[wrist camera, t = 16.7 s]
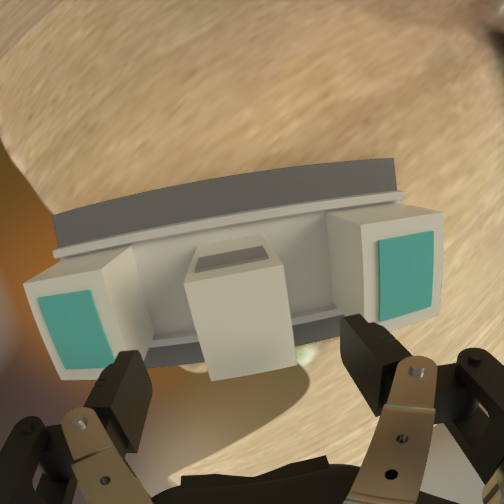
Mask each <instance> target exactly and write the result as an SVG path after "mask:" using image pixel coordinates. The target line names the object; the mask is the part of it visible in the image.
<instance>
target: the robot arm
mask: <svg viewBox="0 0 504 504" xmlns="http://www.w3.org/2000/svg"><path fill="white" fill-rule="evenodd" d="M340 353H341V358H342V361H343V364H344V366H345V367H346V369H347V371H348V372H349V374H350V376H351V377H352V379H353V380H354V382H355V384H356V385H357V387H358V389H359V390H360V392H361V393H362V395H363V397H364V398H365V400H366V402H367V403H368V405H369V407H370V408H371V410H372V411H373V413H374V415H375V416H376V417H377V416H380V418H379V421H378V424H377V427H376V430H375V432H374V435H373V438H372V440H371V443H370V446H369V448H368V451H367V453H366V456H365V458H364V461H363V463H362V465H361V467H358V466H353V465H346V464H329V463H328V460H327V457H326V455H325V456H321V457H317V458H313V459H309V460H304V461H300V462H295V463H290V464H288V465H285V466H283V467H280V468H278V469H275V470H273V471H270V472H267V473H265V474H262V475H259V476H256V477H243V476H231V475H221V474H208V475H190V476H181V485H180V486H176V487H173V488H170V489H167V490H165V491H163V492H161V493H159V494H157V495H155V496H154V497H151V495H150V494H149V493H148V492H147V490H146V489H145V487H144V486H143V485H142V483H141V482H140V481H139V479H138V478H137V477H136V475H135V474H134V472H133V471H132V469H131V468H130V466H129V465H128V463H127V462H126V460H125V459H124V458H125V455H126V453H137V452H138V448H139V444H140V440H141V436H142V431H143V428H144V424H145V420H146V416H147V412H148V408H149V405H150V401H151V397H152V383H151V380H150V377H149V375H148V372H147V369H146V367H145V364H144V361H143V359H142V356H141V354H140V352H139V351H138V350H127V351H120V352H119V353H118V355H117V357H116V359H115V361H114V363H112V364H109V365H108V366H107V367H106V368H105V369H104V370H103V371H102V372H101V374H100V376H99V378H98V381H96V383H95V387H93V389H92V391H91V393H90V395H89V397H88V399H87V401H86V403H85V405H84V407H82V408H77V409H74V410H72V411H70V412H69V413H68V414H66V415H65V417H64V418H63V420H62V423H61V424H59V425H53V426H47V427H46V426H45V425H44V423H43V422H42V420H41V419H40V418H38V417H35V416H29V417H26V418H23V419H21V420H20V421H19V422H18V423H17V424H16V425H15V426H14V428H13V430H12V431H11V433H10V435H9V437H8V438H7V440H6V442H5V444H4V446H3V448H2V450H1V451H0V504H72V501H73V497H74V493H75V490H76V486H77V482H78V483H79V485H80V488H81V490H82V492H83V494H84V496H85V498H86V500H87V503H88V504H458V503H456V502H452V501H449V500H446V499H443V498H439V497H436V496H433V495H431V494H427V493H425V492H422V491H420V487H421V483H422V479H423V475H424V471H425V466H426V462H427V457H428V453H429V448H430V442H431V437H432V431H433V425H434V424H439V423H444V424H445V426H446V427H447V429H448V430H449V431H450V433H451V434H452V436H453V437H454V439H455V440H456V442H457V443H458V445H459V446H460V448H461V449H462V451H463V452H464V454H465V455H466V457H467V458H468V459H469V461H470V463H471V464H472V466H473V467H474V469H475V470H476V472H477V473H478V474H479V476H480V478H481V479H482V481H483V483H484V484H485V487H484V488H483V491H482V501H483V503H484V504H504V366H503V365H502V364H501V363H500V362H499V361H498V360H497V359H496V358H494V357H493V356H492V355H491V354H490V353H489V352H487V351H486V350H483V349H480V348H467V349H465V350H463V351H461V352H460V353H459V355H458V358H457V362H456V363H453V364H447V365H440V366H437V365H436V363H435V362H434V361H433V360H431V359H429V358H427V357H424V356H412V355H411V354H410V353H409V352H408V351H407V349H406V348H405V347H404V346H403V345H402V344H401V343H400V342H399V341H398V340H396V339H395V337H394V336H393V335H392V334H390V332H389V331H388V330H387V329H386V328H385V327H384V326H382V325H379V324H377V323H375V322H371V323H368V322H367V321H366V320H365V318H364V317H363V316H362V315H361V314H359V313H358V314H354V315H349V316H345V317H341V319H340ZM479 402H480V404H481V405H482V406H483V407H484V408H485V409H486V411H487V412H488V414H489V417H488V416H487V415H486V414H485V413H484V411H483V410H482V409H481V408H480V407H479V406H478V405H479ZM37 466H38V467H39V468H40V469H41V471H42V472H43V473H42V476H41V478H40V481H39V484H38V487H37V489H36V491H35V490H34V488H33V485H32V479H33V476H34V474H35V471H36V469H37Z"/></svg>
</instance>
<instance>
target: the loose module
mask: <svg viewBox="0 0 504 504" xmlns="http://www.w3.org/2000/svg"><path fill="white" fill-rule="evenodd" d="M183 284H184V288H185V291H186V295H187V299H188V303H189V307H190V310H191V314H192V318H193V321H194V325H195V329H196V332H197V336H198V339H199V343H200V346H201V349H202V353H203V356H204V360H205V363H206V366H207V369H208V373H209V376H210V379H211V381H216V380H222V379H229V378H235V377H240V376H245V375H251V374H257V373H262V372H266V371H272V370H276V369H281V368H286V367H290V366H294V365H297V360H296V353H295V345H294V337H293V330H292V322H291V315H290V308H289V301H288V294H287V287H286V280H285V273H284V266H283V263H282V262H281V261H280V259H279V258H278V256H277V255H276V254H275V252H274V251H273V249H272V248H271V246H270V245H269V244H268V242H267V241H266V239H265V238H264V236H263V235H262V234H261V233H260V234H255V235H250V236H245V237H239V238H234V239H229V240H223V241H218V242H213V243H208V244H203V245H198V246H197V248H196V251H195V254H194V256H193V259H192V262H191V264H190V267H189V270H188V272H187V275H186V278H185V281H184V283H183Z"/></svg>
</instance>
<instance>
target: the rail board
mask: <svg viewBox="0 0 504 504" xmlns="http://www.w3.org/2000/svg"><path fill="white" fill-rule="evenodd" d="M401 199H405V195H404V191H397V186H396V176H395V167H394V159H393V158H384V159H369V160H356V161H344V162H334V163H324V164H314V165H305V166H297V167H288V168H281V169H273V170H266V171H259V172H252V173H245V174H239V175H233V176H226V177H220V178H215V179H209V180H203V181H198V182H192V183H187V184H182V185H177V186H172V187H167V188H162V189H157V190H152V191H148V192H143V193H139V194H134V195H130V196H125V197H121V198H117V199H113V200H109V201H105V202H101V203H97V204H93V205H89V206H85V207H81V208H77V209H74V210H70V211H66V212H63V213H59V214H56V215H52V219H53V224H54V228H55V233H56V237H57V241H58V246H59V248H58V249H56V250H54V251H52V252H53V256H54V258H59V260H60V262H58V263H56V264H55V265H53V266H51V267H50V268H48V269H46V270H45V271H43V272H41V273H39V274H38V275H36V276H35V277H33V278H31V279H30V280H28V281H26V282H25V283H23V286H24V289H25V292H26V295H27V299H28V301H29V304H30V307H31V310H32V313H33V316H34V318H35V321H36V324H37V326H38V329H39V331H40V334H41V336H42V339H43V341H44V344H45V346H46V348H47V351H48V353H49V355H50V357H51V359H52V362H53V364H54V366H55V368H56V370H57V372H58V374H59V376H60V378H61V380H98V378H99V376H100V374H101V372H102V371H103V370H104V369H105V368H106V367H107V366H108V365H109V364H112V363H114V361H115V359H116V357H117V355H118V353H119V352H120V351H127V350H138V351H139V352H140V354H141V356H142V359H143V361H144V364H145V367H146V368H154V367H165V366H175V365H183V364H192V363H199V362H205V360H204V356H203V353H202V349H201V346H200V343H199V339H198V336H197V332H196V329H195V325H194V321H193V318H192V314H191V310H190V307H189V303H188V299H187V295H186V291H185V288H184V284H183V283H184V281H185V278H186V275H187V272H188V270H189V267H190V264H191V262H192V259H193V256H194V254H195V251H196V248H197V246H198V245H203V244H208V243H213V242H218V241H223V240H229V239H234V238H239V237H245V236H250V235H255V234H260V233H261V234H262V235H263V236H264V238H265V239H266V241H267V242H268V244H269V245H270V246H271V248H272V249H273V251H274V252H275V254H276V255H277V256H278V258H279V259H280V261H281V262H282V263H283V266H284V273H285V280H286V287H287V294H288V301H289V308H290V315H291V322H292V330H293V337H294V345H295V346H299V345H303V344H308V343H312V342H317V341H321V340H325V339H330V338H334V337H338V336H340V319H341V317H345V316H349V315H354V314H358V313H359V314H361V315H362V316H363V317H364V318H365V320H366V321H367V322H368V323H371V322H375V323H377V324H379V325H382V326H384V327H385V328H386V329H387V330H388V331H392V330H395V329H398V328H401V327H405V326H408V325H411V324H414V323H417V322H420V321H423V320H426V319H429V318H432V317H434V316H437V315H439V312H440V302H441V290H442V274H443V212H440V211H435V210H430V209H426V208H420V207H415V206H410V205H405V204H401V203H400V200H401Z"/></svg>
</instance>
